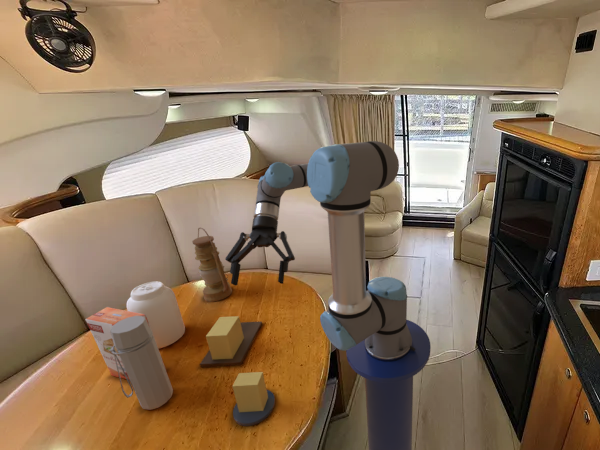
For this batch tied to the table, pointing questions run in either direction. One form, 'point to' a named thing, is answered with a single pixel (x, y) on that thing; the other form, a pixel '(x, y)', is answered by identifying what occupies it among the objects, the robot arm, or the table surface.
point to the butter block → (225, 337)
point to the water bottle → (141, 362)
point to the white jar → (158, 311)
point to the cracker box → (109, 335)
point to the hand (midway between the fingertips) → (257, 283)
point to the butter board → (249, 335)
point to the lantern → (211, 269)
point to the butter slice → (250, 392)
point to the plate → (254, 413)
